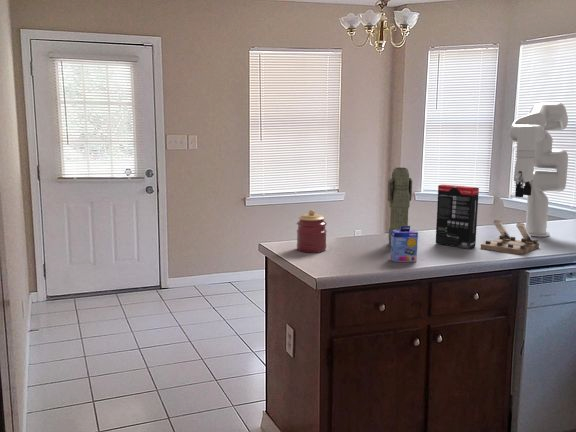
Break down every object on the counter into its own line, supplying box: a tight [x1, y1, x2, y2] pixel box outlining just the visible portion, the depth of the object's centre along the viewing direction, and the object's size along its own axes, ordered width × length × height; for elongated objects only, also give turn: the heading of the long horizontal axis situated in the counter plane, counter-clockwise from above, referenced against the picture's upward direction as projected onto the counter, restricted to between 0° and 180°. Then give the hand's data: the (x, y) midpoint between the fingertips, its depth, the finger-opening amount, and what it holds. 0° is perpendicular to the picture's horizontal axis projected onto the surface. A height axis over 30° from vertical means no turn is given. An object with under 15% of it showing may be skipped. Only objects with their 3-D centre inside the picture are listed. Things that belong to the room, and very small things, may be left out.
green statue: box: [387, 167, 413, 246], centre depth 254 cm, size 9×12×35 cm
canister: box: [296, 209, 328, 253], centre depth 245 cm, size 13×13×18 cm
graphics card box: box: [435, 184, 480, 250], centre depth 253 cm, size 17×7×27 cm, turn 47°
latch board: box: [480, 234, 540, 256], centre depth 250 cm, size 20×18×4 cm
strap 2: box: [515, 222, 534, 243], centre depth 247 cm, size 16×3×1 cm
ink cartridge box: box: [389, 225, 419, 263], centre depth 226 cm, size 10×6×14 cm, turn 95°
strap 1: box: [493, 219, 512, 240], centre depth 254 cm, size 16×3×1 cm
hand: (523, 195), depth 241 cm, fingers open, 8 cm apart
